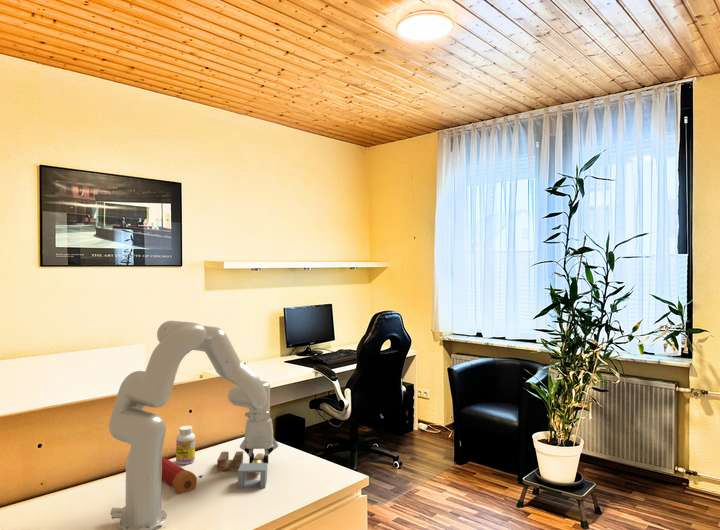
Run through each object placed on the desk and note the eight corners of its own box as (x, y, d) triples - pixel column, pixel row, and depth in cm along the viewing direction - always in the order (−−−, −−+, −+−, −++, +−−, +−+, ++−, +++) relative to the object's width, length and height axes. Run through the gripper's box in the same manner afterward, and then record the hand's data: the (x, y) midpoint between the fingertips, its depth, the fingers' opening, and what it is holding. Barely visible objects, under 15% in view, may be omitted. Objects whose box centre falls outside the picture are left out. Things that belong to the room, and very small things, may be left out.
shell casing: (177, 499, 161) (177, 477, 161) (151, 479, 175) (152, 458, 175) (197, 492, 166) (198, 471, 166) (171, 473, 180) (171, 453, 180)
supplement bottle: (172, 464, 188) (172, 429, 188) (183, 457, 194) (183, 424, 194) (187, 466, 186) (188, 431, 186) (198, 459, 192) (198, 425, 192)
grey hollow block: (265, 490, 167) (265, 470, 167) (237, 491, 166) (238, 470, 166) (267, 482, 173) (267, 462, 173) (240, 483, 172) (241, 463, 172)
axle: (260, 474, 175) (261, 462, 175) (248, 474, 174) (249, 462, 175) (265, 464, 189) (265, 453, 189) (254, 464, 188) (254, 453, 189)
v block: (217, 474, 179) (217, 460, 179) (221, 465, 187) (221, 451, 187) (239, 473, 180) (239, 459, 180) (243, 464, 188) (243, 451, 188)
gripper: (234, 419, 181) (233, 470, 181) (281, 418, 182) (281, 469, 182) (238, 413, 189) (237, 462, 189) (283, 412, 190) (282, 461, 190)
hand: (258, 465), depth 186 cm, fingers closed on axle, 4 cm apart
